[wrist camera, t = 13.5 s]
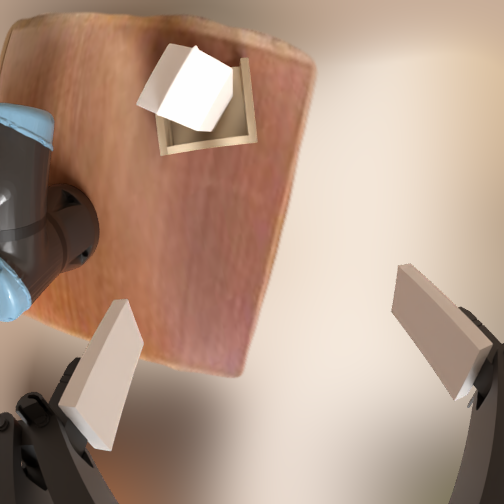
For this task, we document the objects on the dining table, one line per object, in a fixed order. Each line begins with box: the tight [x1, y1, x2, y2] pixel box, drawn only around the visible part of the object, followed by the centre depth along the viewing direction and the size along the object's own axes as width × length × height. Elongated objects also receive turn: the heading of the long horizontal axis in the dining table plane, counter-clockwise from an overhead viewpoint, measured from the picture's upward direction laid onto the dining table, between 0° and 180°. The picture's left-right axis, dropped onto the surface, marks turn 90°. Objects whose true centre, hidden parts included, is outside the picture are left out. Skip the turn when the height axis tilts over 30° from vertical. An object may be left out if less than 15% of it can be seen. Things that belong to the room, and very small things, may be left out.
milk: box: [136, 43, 233, 132], centre depth 27 cm, size 6×6×22 cm
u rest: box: [151, 58, 257, 156], centre depth 36 cm, size 12×12×6 cm
